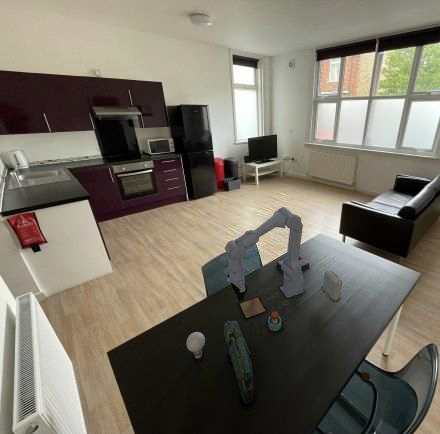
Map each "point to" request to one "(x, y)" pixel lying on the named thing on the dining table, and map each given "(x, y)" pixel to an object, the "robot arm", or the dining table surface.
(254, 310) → the coaster
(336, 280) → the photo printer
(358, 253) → the dining table surface
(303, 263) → the calculator
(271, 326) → the teal ring
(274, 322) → the marker
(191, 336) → the lightbulb
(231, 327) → the dark teal slab
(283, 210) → the robot arm
